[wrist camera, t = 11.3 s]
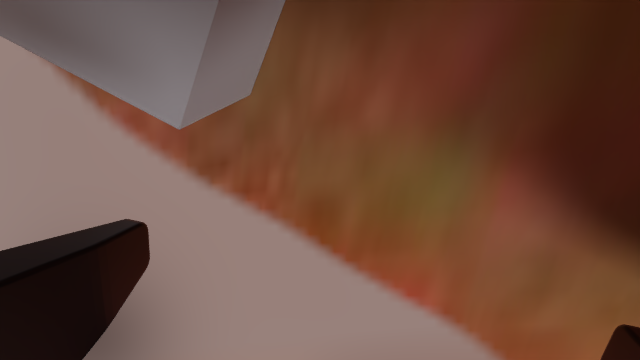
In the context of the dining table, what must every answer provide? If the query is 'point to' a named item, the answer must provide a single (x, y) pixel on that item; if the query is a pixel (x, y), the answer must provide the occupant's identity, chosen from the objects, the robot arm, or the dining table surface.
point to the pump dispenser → (151, 48)
